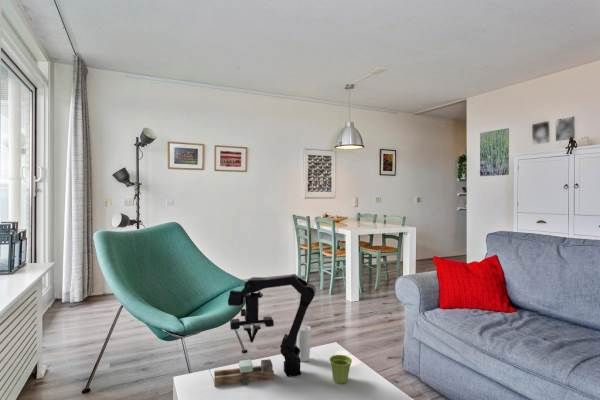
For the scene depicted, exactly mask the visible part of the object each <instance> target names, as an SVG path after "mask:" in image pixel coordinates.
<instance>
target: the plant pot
mask: <svg viewBox="0 0 600 400" xmlns="http://www.w3.org/2000/svg"><path fill="white" fill-rule="evenodd" d="M329 362H330V365H331V366H330V367H331V373H332V375H331V376H332V380H333V382H334V383H336V384H339V383H340V384H341V385H342V384H346V383H348V382H349V375H350V374H349V373H350V369H351V368H350V367H351V366H352V365H351V364H352V363H353V359H352V358H351V357H350V356H348V355H345V354H334V355H331V356H330V358H329ZM340 384H339V385H340Z"/></svg>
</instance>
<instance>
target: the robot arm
mask: <svg viewBox="0 0 600 400" xmlns="http://www.w3.org/2000/svg"><path fill="white" fill-rule="evenodd" d="M284 286H285V287H286V286H291V287H293V288H294V289H295V291H296V292H298V293H299V294H300V299H299V305H298V309H297V311H296V313H295V317H294V320H293V322H292V325H291V327H290V330H289V332H288V333H285V334H284V335H283V338H282V340H281V343H280V345H279V348H280V354H281V355H282V357H284V358H283V359H284V361H283V373H284V374H285V376H286V377H294V376H301V375H302V372H301V361H300V357H299V354H300V351H301V350H300V349H299V348H298V347H297V335H298V332H299V329H300V326H302V324H303V321H304V318H305V316H306V313H307V310H308V307H309V306H310V305H311V303H312V302H313V300H314V297H315V296H316V291H317V288H316V286H315V285H314V284H313V283H309V282H307V281H306V280H305V279H302V278H301V277H299V276H298V275H296V274H294V273H293V274H290V275H283V276H275V277H269V278H268V277H267V278H265V277H260V276H259V277H257V276H256V277H255V276H253V277H250V278H249V279H248V280H245V283H244V286H243V289H241V290H235V289H231V290H230V291H229V295H228V299H227V305H228V307H243V305H245V308H241V309H240V317H244V320H240V319H239V318H231V319H230V321H229V327H230V328H229V329H230V330H232V331H233V330H239V329H240V328H241V327H242V328H243V331H246V333H247V335H248V338H249V341H250V343H253V342H254V340H255V338H256V335H257V333H258V331H259V330H261V329H262V327H261V325H264V326H265V327H267V328H271V327H274V326H275V325H274V324H275V323H274V321H275V320H274V318H273V317H272V316H263V317H262V319H259V307H260V305H259V301H260V300H259V299H261V298H262V297H264V294H263V293H262V292H261V291H262V290H264V289H271V288H278V287H284ZM251 326H252V328H251Z"/></svg>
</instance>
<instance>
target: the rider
mask: <svg viewBox="0 0 600 400" xmlns="http://www.w3.org/2000/svg"><path fill="white" fill-rule="evenodd" d="M238 363H239V364H238V365H239V367H238V368H240V373H249V372H251V371H253V367H254V366H253V365H254V364H253V362H252V359H244V360H239V361H238Z"/></svg>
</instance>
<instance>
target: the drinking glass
mask: <svg viewBox="0 0 600 400" xmlns="http://www.w3.org/2000/svg"><path fill="white" fill-rule="evenodd" d="M311 341H312V327H311V326H310V325H305V324H304V325H301V326H300V329H299V332H298V335H297V342H296V346H297V347H298V348H299V349H300V350H301V351H300V354H299V357H300V362H304V363H305V361H306V362H308V361H310V354H311V353H310V352H311Z"/></svg>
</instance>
